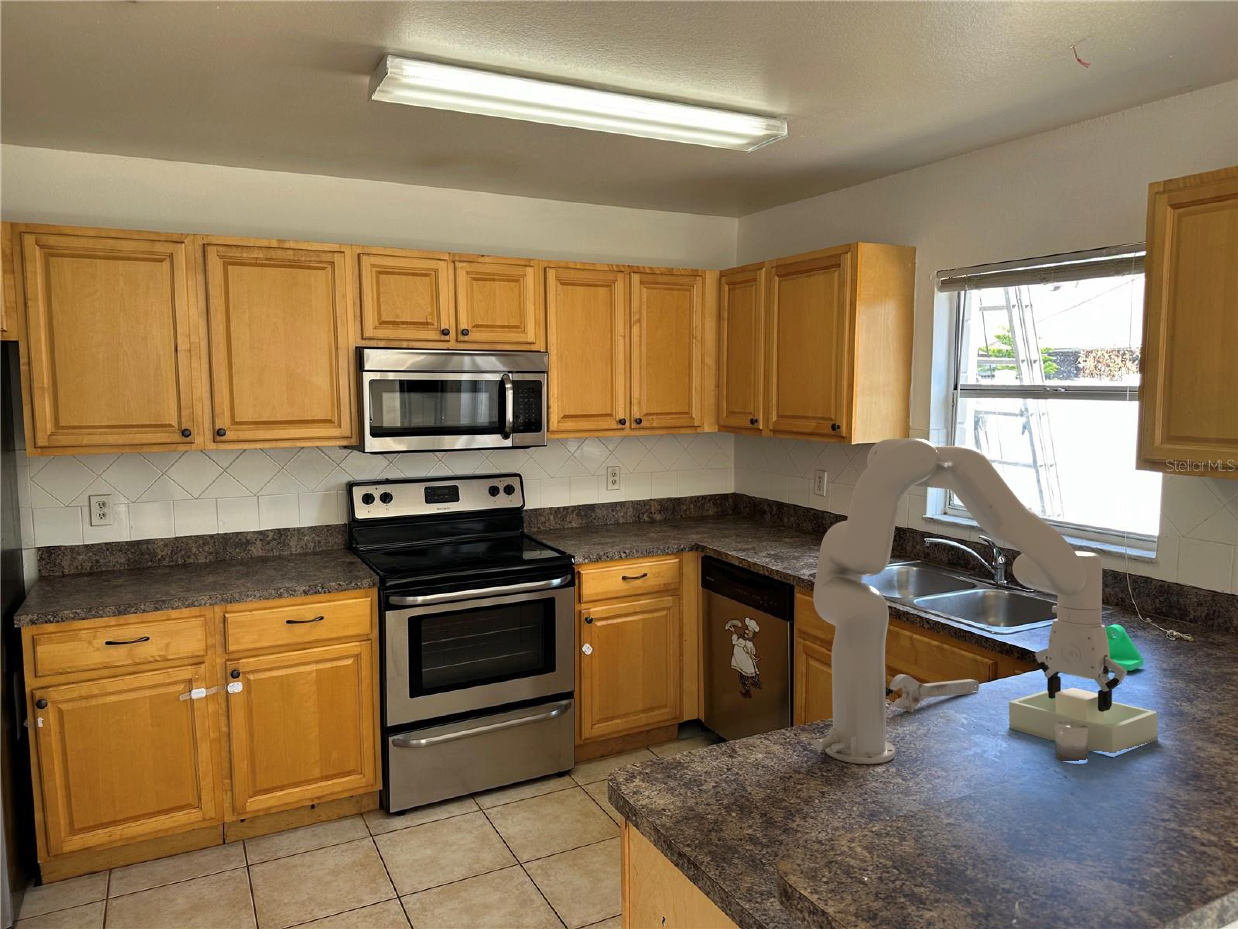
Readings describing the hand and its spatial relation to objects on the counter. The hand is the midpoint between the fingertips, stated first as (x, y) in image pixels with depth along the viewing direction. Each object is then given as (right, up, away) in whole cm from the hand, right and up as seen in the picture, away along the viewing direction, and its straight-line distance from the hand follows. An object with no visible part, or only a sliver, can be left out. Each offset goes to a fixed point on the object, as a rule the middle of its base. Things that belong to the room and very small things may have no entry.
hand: (1078, 703), depth 164 cm
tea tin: (-8, -6, -12) cm, 16 cm away
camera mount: (+33, -5, +47) cm, 58 cm away
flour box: (0, -5, 0) cm, 5 cm away
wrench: (-19, -6, +22) cm, 30 cm away
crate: (+1, -6, 0) cm, 6 cm away
